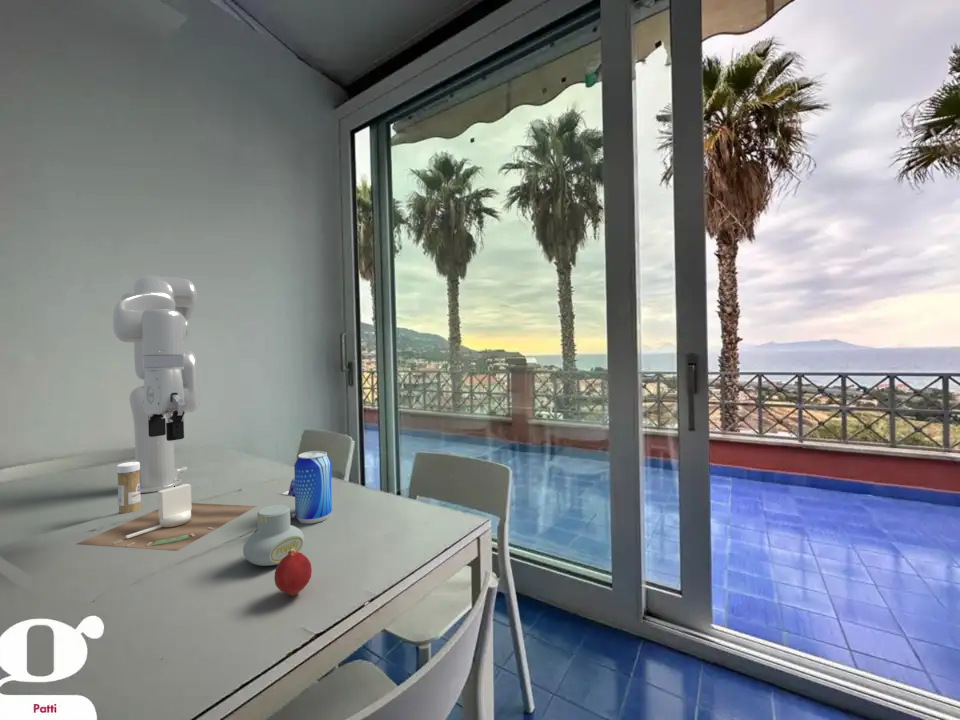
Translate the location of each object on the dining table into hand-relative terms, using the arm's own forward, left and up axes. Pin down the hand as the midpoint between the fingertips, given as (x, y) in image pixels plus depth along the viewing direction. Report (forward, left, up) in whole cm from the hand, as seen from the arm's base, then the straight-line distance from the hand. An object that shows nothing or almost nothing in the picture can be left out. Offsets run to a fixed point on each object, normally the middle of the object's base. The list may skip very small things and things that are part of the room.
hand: (166, 437), depth 96 cm
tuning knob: (+2, -1, -20) cm, 20 cm away
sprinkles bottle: (-8, -19, -22) cm, 30 cm away
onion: (+19, +43, -22) cm, 52 cm away
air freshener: (+8, +32, -22) cm, 40 cm away
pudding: (-27, +17, -23) cm, 39 cm away
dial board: (-2, 0, -22) cm, 22 cm away
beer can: (-12, +29, -22) cm, 38 cm away
